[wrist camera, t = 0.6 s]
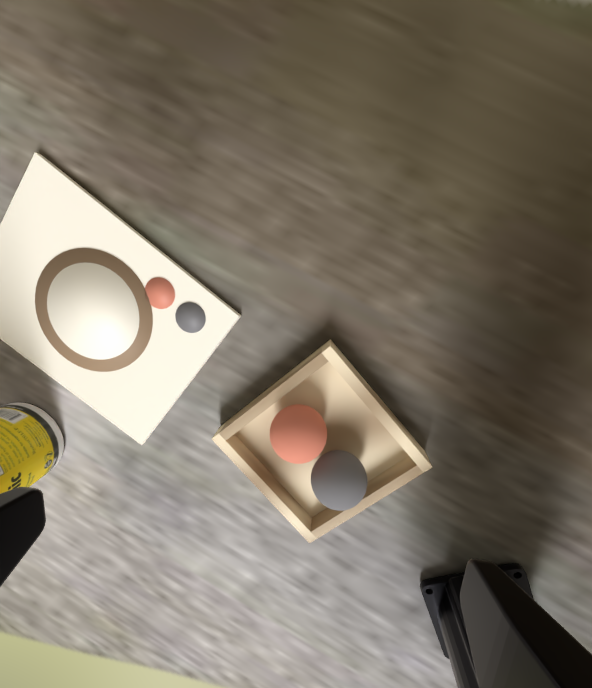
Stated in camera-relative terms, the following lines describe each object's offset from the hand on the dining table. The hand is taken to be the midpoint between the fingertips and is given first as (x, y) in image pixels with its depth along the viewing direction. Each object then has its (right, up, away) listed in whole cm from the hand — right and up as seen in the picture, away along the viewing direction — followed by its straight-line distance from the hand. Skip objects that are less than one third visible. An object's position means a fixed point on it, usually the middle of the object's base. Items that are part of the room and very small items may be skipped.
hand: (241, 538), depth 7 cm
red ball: (+1, -1, +13) cm, 13 cm away
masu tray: (+3, -2, +14) cm, 14 cm away
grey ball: (+4, -3, +14) cm, 15 cm away
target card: (-11, +6, +13) cm, 18 cm away
